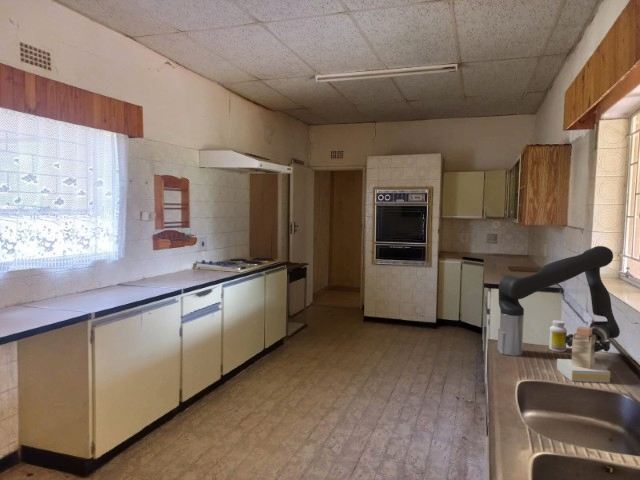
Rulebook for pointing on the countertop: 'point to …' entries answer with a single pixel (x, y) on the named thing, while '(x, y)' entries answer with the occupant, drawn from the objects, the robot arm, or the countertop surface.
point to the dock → (583, 372)
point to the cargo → (584, 332)
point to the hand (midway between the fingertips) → (582, 346)
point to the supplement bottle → (557, 336)
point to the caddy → (583, 351)
